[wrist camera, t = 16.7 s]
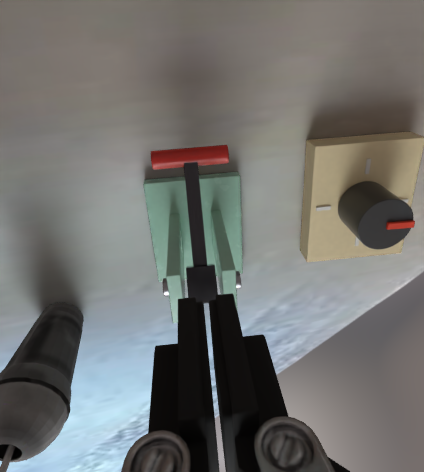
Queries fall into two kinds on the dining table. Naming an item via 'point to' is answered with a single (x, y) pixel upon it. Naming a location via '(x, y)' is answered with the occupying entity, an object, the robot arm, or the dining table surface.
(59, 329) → the beverage cup
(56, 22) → the dining table surface
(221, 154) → the lever
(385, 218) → the knob
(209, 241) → the bracket
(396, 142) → the panel
